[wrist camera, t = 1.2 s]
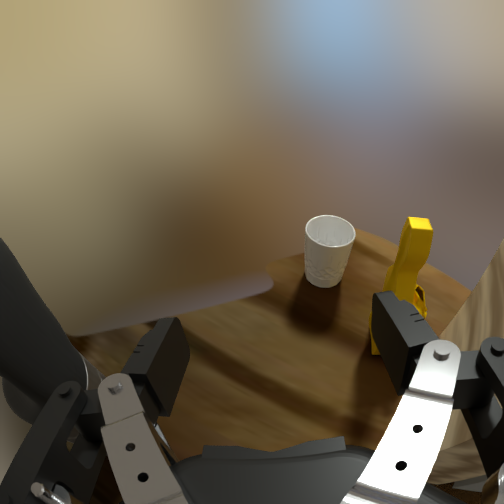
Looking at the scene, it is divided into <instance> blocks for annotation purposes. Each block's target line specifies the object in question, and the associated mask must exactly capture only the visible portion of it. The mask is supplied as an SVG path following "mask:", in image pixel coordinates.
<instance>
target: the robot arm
mask: <svg viewBox="0 0 504 504" xmlns="http://www.w3.org/2000/svg"><path fill="white" fill-rule="evenodd" d="M371 331H372V336H373V340H374V342H375V344H376V346H377V348H378V351H379V353H380V355H381V357H382V359H383V362H384V364H385V366H386V369H387V371H388V373H389V375H390V378H391V380H392V383H393V385H394V387H395V390H396V392H397V395H398V396H399V395H403V394H404V395H403V398H402V400H401V402H400V404H399V406H398V409H397V411H396V413H395V415H394V417H393V419H392V421H391V423H390V425H389V427H388V429H387V431H386V433H385V435H384V437H383V439H382V441H381V442H380V444H379V446H378V448H377V450H376V451H374V450H371V449H369V448H365V447H361V446H354V445H345V441H344V436H341V437H335V438H329V439H322V440H315V441H308V442H305V443H302V444H299V445H296V446H293V447H289V448H286V449H282V450H279V451H275V452H267V451H261V450H255V449H250V448H244V447H239V446H209V445H204V448H203V452H202V454H201V455H196V456H192V457H189V458H186V459H184V460H182V461H179V460H178V459H177V457H176V456H175V454H174V452H173V450H172V449H171V447H170V445H169V443H168V441H167V439H166V438H165V436H164V434H163V432H162V430H161V428H160V426H159V424H158V423H157V419H158V416H167V417H170V414H171V411H172V408H173V405H174V402H175V399H176V396H177V393H178V391H179V388H180V385H181V382H182V379H183V376H184V374H185V371H186V368H187V365H188V362H189V359H190V349H189V345H188V343H187V340H186V337H185V334H184V331H183V328H182V326H181V323H180V320H179V319H178V318H177V317H174V318H161V319H159V320H158V322H157V324H156V325H155V327H154V329H153V330H150V331H149V332H148V333H146V334H145V335H144V336H143V337H142V338H141V340H140V341H139V343H138V345H137V347H136V348H135V349H134V351H133V352H134V353H132V354H131V356H130V358H129V359H128V361H127V363H126V365H125V366H124V368H123V370H122V371H121V373H118V374H113V375H110V376H108V377H107V378H106V377H105V376H104V375H103V374H102V373H100V372H99V371H98V370H97V369H96V368H95V367H94V366H93V365H92V364H90V363H89V362H88V361H87V360H86V359H85V358H84V357H83V356H82V355H81V354H80V353H79V352H78V351H77V350H76V349H75V348H74V347H73V346H72V344H71V343H70V341H69V339H68V338H67V336H66V334H65V332H64V331H63V329H62V327H61V325H60V324H59V322H58V321H57V319H56V318H55V317H54V315H53V314H52V312H51V311H50V310H49V308H48V307H47V306H46V304H45V303H44V302H43V300H42V299H41V297H40V296H39V294H38V293H37V292H36V290H35V288H34V287H33V285H32V284H31V282H30V281H29V279H28V278H27V276H26V274H25V272H24V271H23V269H22V268H21V266H20V264H19V263H18V261H17V259H16V258H15V256H14V255H13V253H12V252H11V251H10V249H9V248H8V246H7V245H6V244H5V243H4V241H3V240H2V239H1V238H0V376H1V377H2V385H3V392H4V396H5V398H6V401H7V403H8V405H9V406H10V408H11V409H12V410H13V412H14V413H15V414H17V415H18V416H19V417H20V418H21V419H23V420H25V421H26V422H28V423H30V424H32V427H31V429H30V430H29V432H28V434H27V436H26V438H25V439H24V441H23V443H22V444H21V446H20V448H19V450H18V452H17V454H16V455H15V457H14V459H13V461H12V463H11V465H10V467H9V469H8V471H7V473H6V475H5V476H4V479H3V481H2V483H1V485H0V504H89V502H90V499H91V496H92V493H93V490H94V487H95V484H96V481H97V479H98V476H99V473H100V470H101V467H102V465H103V462H104V459H105V457H106V455H107V456H108V458H109V461H110V464H111V467H112V470H113V473H114V476H115V479H116V482H117V484H118V487H119V490H120V492H121V495H122V498H123V501H122V502H120V503H119V504H467V503H465V502H463V501H461V500H459V499H457V498H455V497H453V496H451V495H450V494H448V493H446V492H444V491H442V490H440V489H439V488H437V487H435V486H433V485H431V484H430V483H428V482H426V481H427V479H428V476H429V474H430V472H431V469H432V467H433V464H434V462H435V459H436V457H437V454H438V451H439V448H440V446H441V443H442V440H443V437H444V434H445V431H446V427H447V424H448V421H449V417H450V414H451V410H455V409H460V410H461V412H462V414H463V416H464V419H465V421H466V423H467V425H468V428H469V430H470V433H471V435H472V438H473V440H474V443H475V445H476V448H477V450H478V453H479V456H480V458H481V461H482V464H483V467H484V470H485V473H486V476H487V480H486V482H485V484H484V485H483V488H482V493H481V496H482V498H481V504H504V339H503V338H500V337H489V338H486V339H485V340H484V341H483V342H482V343H481V346H480V349H479V350H474V351H460V350H459V348H458V347H457V346H456V345H455V344H454V343H452V342H450V341H447V340H440V339H439V338H438V337H437V335H436V334H435V333H434V331H433V330H432V328H431V327H430V326H429V324H428V323H427V322H426V320H424V318H423V316H422V315H421V314H420V313H419V311H418V310H417V309H416V307H415V306H414V305H413V304H411V303H409V302H407V301H406V300H401V301H399V299H398V298H397V297H396V295H395V294H394V293H393V291H391V290H390V291H384V292H379V293H374V294H373V299H372V320H371ZM494 394H495V395H496V396H497V398H498V400H499V402H500V404H501V406H502V408H501V406H500V404H499V403H498V401H497V399H496V397H495V395H494ZM67 441H69V442H72V443H74V445H73V447H72V449H71V451H70V453H69V451H68V450H67V446H66V442H67Z"/></svg>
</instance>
